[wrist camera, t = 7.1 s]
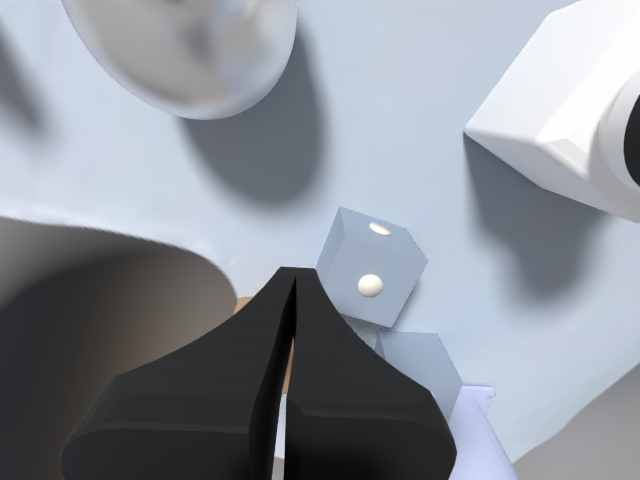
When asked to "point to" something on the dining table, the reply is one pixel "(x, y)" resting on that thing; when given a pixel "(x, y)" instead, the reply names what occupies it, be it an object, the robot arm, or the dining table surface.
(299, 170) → the dining table surface
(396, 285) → the dotted block
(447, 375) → the dotted block
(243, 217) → the dining table surface
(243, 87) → the silver round ornament
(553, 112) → the medicine bottle
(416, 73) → the dining table surface
